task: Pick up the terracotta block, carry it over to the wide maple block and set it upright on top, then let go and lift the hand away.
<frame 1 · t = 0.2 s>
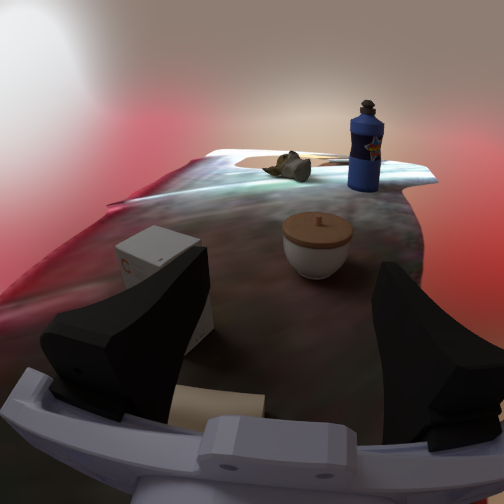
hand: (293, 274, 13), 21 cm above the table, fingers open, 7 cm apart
ceramic sculpture: (290, 178, 94), on the table
lidded jar: (314, 269, 51), on the table
small box: (176, 331, 40), on the table
water bottle: (362, 187, 86), on the table
maple base block: (212, 445, 26), on the table
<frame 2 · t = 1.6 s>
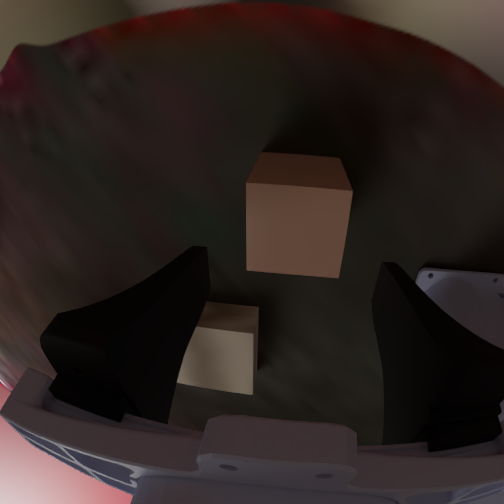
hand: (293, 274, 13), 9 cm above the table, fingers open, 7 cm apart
terracotta block: (298, 190, 21), on the table
maple base block: (212, 333, 30), on the table
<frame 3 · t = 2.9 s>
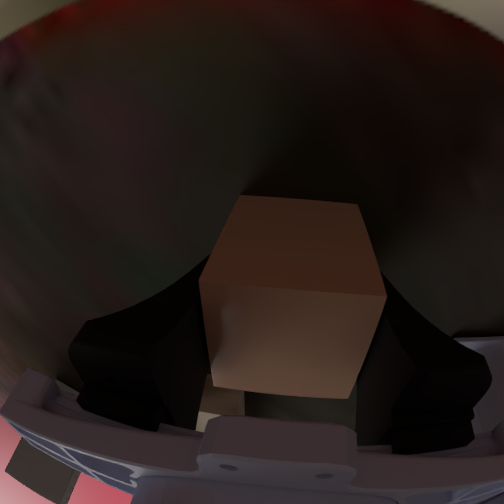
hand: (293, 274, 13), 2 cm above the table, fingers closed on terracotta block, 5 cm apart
terracotta block: (294, 249, 14), on the table, touching gripper
small box: (80, 402, 30), on the table
maple base block: (190, 397, 24), on the table
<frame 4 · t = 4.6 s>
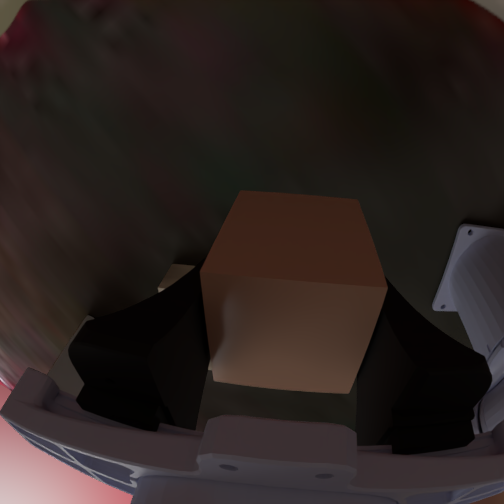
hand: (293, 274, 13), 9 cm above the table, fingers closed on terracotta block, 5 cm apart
terracotta block: (295, 245, 14), point 7 cm above the table, touching gripper
small box: (109, 344, 33), on the table
maple base block: (231, 308, 27), on the table
when the fingers open (7 cm above the table, at t = 6.2 s): terracotta block drops 1 cm, resting on maple base block.
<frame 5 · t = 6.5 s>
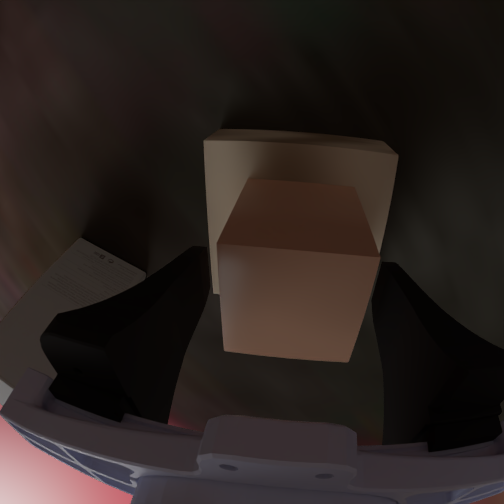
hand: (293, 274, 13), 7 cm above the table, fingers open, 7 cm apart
terracotta block: (297, 229, 16), point 3 cm above the table, touching maple base block
small box: (106, 286, 25), on the table
maple base block: (297, 204, 19), on the table, touching terracotta block
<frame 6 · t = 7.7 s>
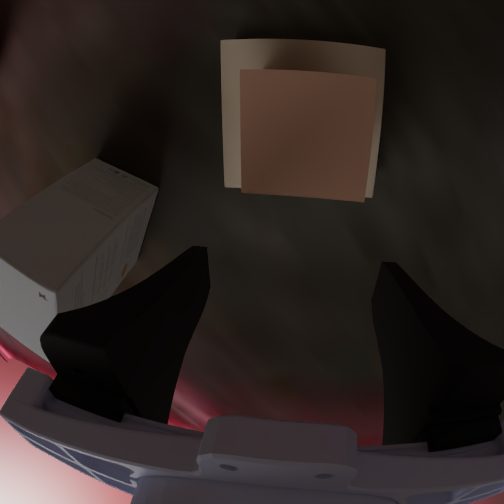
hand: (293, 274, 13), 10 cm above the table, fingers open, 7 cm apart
terracotta block: (305, 115, 16), point 3 cm above the table, touching maple base block
small box: (117, 210, 25), on the table
maple base block: (302, 110, 19), on the table, touching terracotta block
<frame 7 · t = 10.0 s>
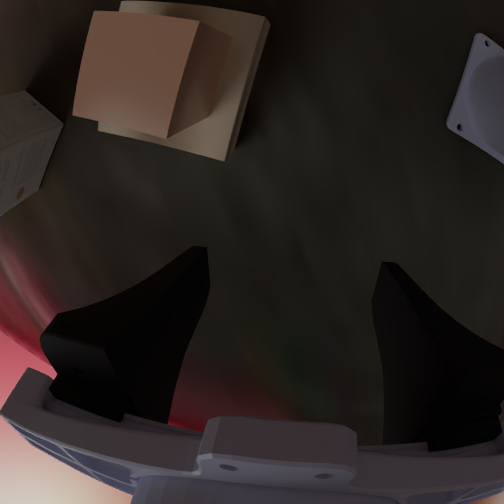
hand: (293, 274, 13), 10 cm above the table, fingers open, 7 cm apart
terracotta block: (178, 67, 15), point 3 cm above the table
small box: (31, 140, 22), on the table
maple base block: (189, 72, 19), on the table
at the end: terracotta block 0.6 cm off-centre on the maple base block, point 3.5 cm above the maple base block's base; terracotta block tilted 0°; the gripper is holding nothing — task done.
